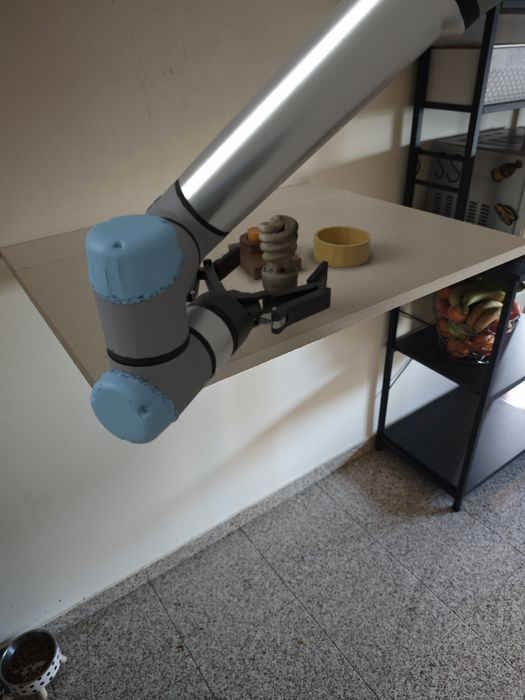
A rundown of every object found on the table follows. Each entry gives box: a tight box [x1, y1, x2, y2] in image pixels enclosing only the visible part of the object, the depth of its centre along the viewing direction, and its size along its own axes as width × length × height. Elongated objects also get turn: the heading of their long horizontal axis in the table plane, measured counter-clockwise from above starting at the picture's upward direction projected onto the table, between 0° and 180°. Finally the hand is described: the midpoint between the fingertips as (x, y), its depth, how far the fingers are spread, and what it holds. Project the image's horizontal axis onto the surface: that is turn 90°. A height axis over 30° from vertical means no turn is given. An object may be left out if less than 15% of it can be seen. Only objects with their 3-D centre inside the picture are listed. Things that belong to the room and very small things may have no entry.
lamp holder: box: [312, 225, 372, 268], centre depth 92 cm, size 10×10×4 cm
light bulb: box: [257, 214, 300, 293], centre depth 71 cm, size 6×6×15 cm
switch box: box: [227, 231, 302, 281], centre depth 90 cm, size 12×9×4 cm
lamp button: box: [246, 226, 261, 241], centre depth 90 cm, size 4×4×2 cm
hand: (280, 262), depth 72 cm, fingers open, 13 cm apart
